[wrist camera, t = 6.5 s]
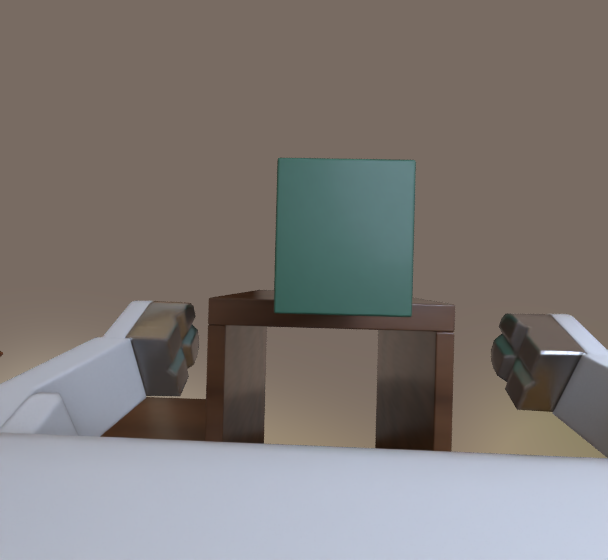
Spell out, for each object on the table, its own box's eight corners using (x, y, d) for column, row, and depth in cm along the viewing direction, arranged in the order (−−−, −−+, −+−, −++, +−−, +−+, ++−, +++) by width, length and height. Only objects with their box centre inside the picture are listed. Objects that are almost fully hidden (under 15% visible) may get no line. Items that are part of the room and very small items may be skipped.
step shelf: (443, 786, 20) (455, 304, 20) (-25, 755, 21) (-13, 291, 21) (382, 546, 38) (388, 293, 38) (132, 535, 39) (139, 286, 39)
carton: (412, 317, 12) (416, 159, 12) (273, 313, 12) (277, 156, 12) (348, 293, 34) (350, 238, 34) (300, 292, 34) (301, 237, 34)
